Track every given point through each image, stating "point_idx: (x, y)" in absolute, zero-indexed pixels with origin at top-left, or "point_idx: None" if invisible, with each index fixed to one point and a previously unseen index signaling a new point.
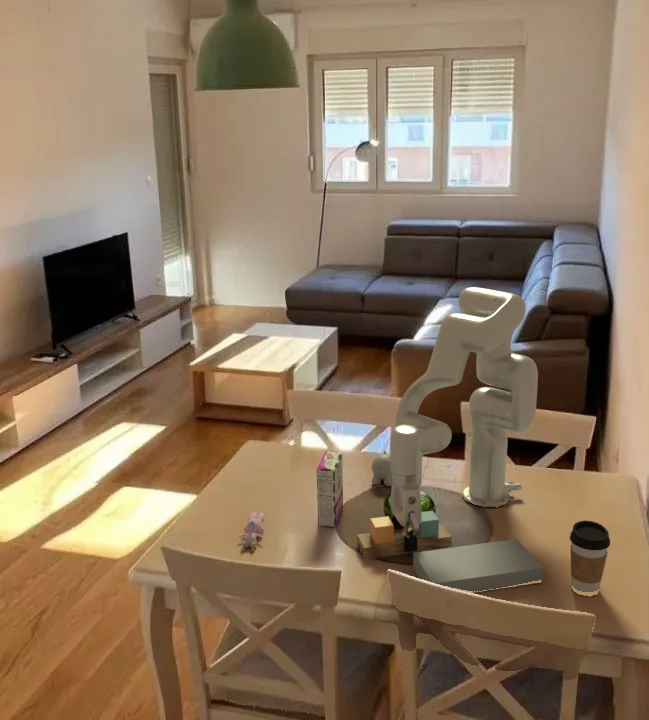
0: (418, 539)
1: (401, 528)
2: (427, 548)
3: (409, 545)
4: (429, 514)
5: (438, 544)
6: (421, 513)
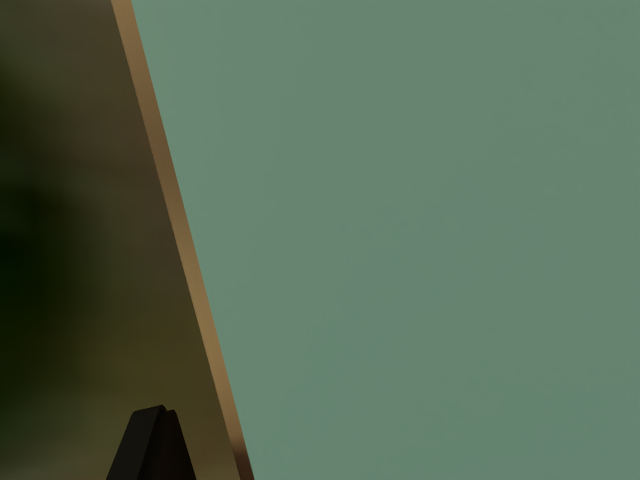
0: None
1: (176, 454)
2: None
3: None
4: (505, 21)
5: None
6: (359, 393)
